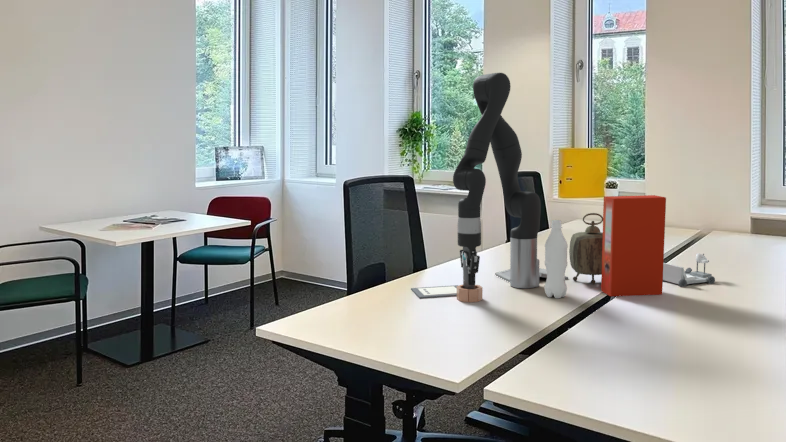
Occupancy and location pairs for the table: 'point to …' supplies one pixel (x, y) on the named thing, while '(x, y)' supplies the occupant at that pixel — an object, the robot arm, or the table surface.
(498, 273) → the gadget
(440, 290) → the grey tablet
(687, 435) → the table surface
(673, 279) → the toy car
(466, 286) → the marker
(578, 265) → the tabletop clock
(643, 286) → the file binder
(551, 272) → the water bottle
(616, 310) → the table surface
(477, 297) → the pen cup
